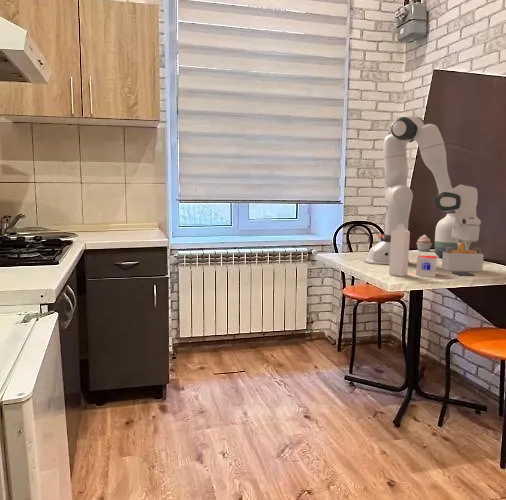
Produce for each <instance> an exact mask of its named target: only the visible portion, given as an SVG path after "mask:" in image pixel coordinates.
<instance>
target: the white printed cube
mask: <svg viewBox="0 0 506 500" xmlns="http://www.w3.org/2000/svg"><path fill="white" fill-rule="evenodd" d="M437 257H438V256H437V255H424V254H418V255H417V257H416V269H415V270H416V271H415V275H416V276H422V277H436V274H437Z"/></svg>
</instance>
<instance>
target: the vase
mask: <svg viewBox="0 0 506 500" xmlns="http://www.w3.org/2000/svg"><path fill="white" fill-rule="evenodd" d="M455 215H456V213H446V215H445V217H443V218H441V219H440V220H439V221H438V222H437V224H436V226H435V231H434V232H435V233H434V235H435V236H434V252H435V256H437V257H440V258H443V252H445V247H452V248H454V250H458V243H457V238H453V237H452V235H451V233H452V226H453V223H454V222H455ZM462 243H465V240H463V241H462Z"/></svg>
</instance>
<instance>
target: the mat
mask: <svg viewBox="0 0 506 500" xmlns="http://www.w3.org/2000/svg"><path fill="white" fill-rule="evenodd" d="M451 273H452V274H453V275H456V276H459V277H462V276H463V277H475V274H474V273H472V272H470V271H451Z"/></svg>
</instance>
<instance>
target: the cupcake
mask: <svg viewBox="0 0 506 500" xmlns="http://www.w3.org/2000/svg"><path fill="white" fill-rule="evenodd" d="M415 244H416V246H417V251H419V252H424V251H427V252H430V251H431V247H432V245H433V243H432V242H431V238H429V237H428V236H427V235H426V234H423V235H421V236H419V238H418V239H417V242H415Z"/></svg>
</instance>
